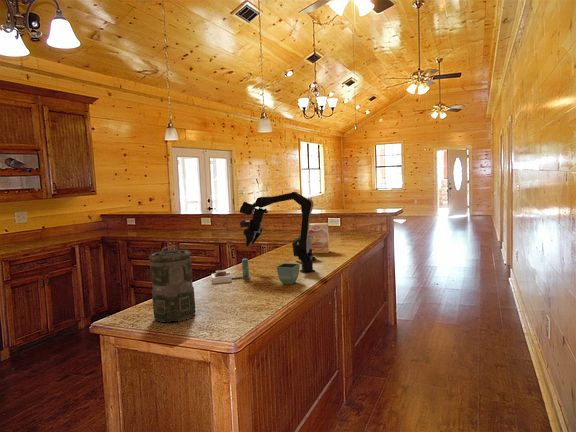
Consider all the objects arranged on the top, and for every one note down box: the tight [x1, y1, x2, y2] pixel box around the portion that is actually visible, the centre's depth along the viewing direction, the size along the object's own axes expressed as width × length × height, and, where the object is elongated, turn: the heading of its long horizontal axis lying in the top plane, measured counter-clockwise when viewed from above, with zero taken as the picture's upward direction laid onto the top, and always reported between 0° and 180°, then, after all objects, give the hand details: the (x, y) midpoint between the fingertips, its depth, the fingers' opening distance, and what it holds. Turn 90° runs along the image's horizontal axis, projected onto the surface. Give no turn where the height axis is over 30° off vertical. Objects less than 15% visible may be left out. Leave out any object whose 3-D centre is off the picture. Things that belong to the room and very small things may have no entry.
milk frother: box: [291, 234, 318, 262], centre depth 264 cm, size 14×16×15 cm
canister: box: [148, 244, 197, 323], centre depth 166 cm, size 16×16×28 cm
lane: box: [211, 271, 233, 284], centre depth 223 cm, size 10×10×3 cm
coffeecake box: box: [308, 222, 330, 254], centre depth 287 cm, size 15×7×20 cm, turn 81°
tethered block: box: [215, 258, 251, 280], centre depth 224 cm, size 18×5×10 cm, turn 101°
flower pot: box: [276, 262, 300, 285], centre depth 209 cm, size 9×9×9 cm
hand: (249, 245), depth 238 cm, fingers open, 9 cm apart
